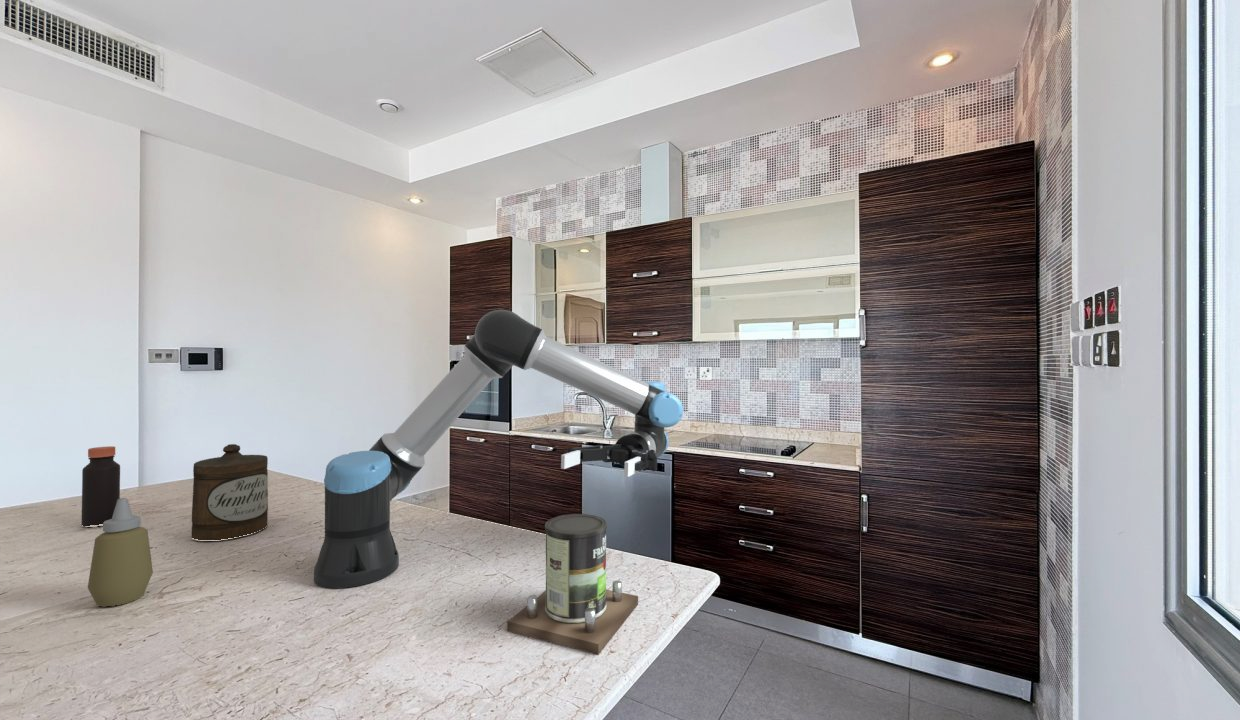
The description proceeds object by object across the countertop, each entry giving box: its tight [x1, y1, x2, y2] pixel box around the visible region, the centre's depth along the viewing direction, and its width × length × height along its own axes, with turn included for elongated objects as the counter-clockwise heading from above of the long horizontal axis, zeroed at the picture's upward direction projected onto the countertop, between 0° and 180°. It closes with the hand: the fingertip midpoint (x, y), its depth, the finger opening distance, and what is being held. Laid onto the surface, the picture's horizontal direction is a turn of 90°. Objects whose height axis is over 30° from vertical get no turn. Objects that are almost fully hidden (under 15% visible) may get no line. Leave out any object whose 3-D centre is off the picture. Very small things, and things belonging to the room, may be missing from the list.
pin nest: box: [506, 579, 639, 655], centre depth 81 cm, size 16×16×4 cm
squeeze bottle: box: [87, 497, 154, 608], centre depth 86 cm, size 8×8×18 cm
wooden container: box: [191, 443, 269, 540], centre depth 121 cm, size 15×15×22 cm
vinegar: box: [81, 446, 121, 526], centre depth 127 cm, size 7×7×20 cm
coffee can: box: [544, 513, 608, 623], centre depth 81 cm, size 10×10×14 cm
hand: (593, 465), depth 93 cm, fingers open, 13 cm apart
